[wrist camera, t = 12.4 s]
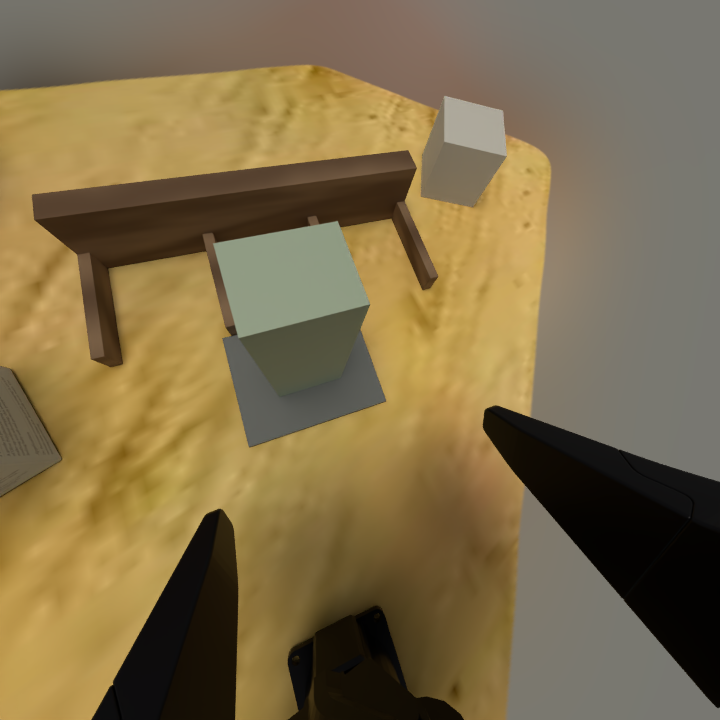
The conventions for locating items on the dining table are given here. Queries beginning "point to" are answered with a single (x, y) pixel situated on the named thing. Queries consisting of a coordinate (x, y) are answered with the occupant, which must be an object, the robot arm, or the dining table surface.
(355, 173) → the lane rack
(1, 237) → the dining table surface
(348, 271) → the sage block
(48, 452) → the skincare box
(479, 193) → the light grey cube
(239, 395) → the slate mat
